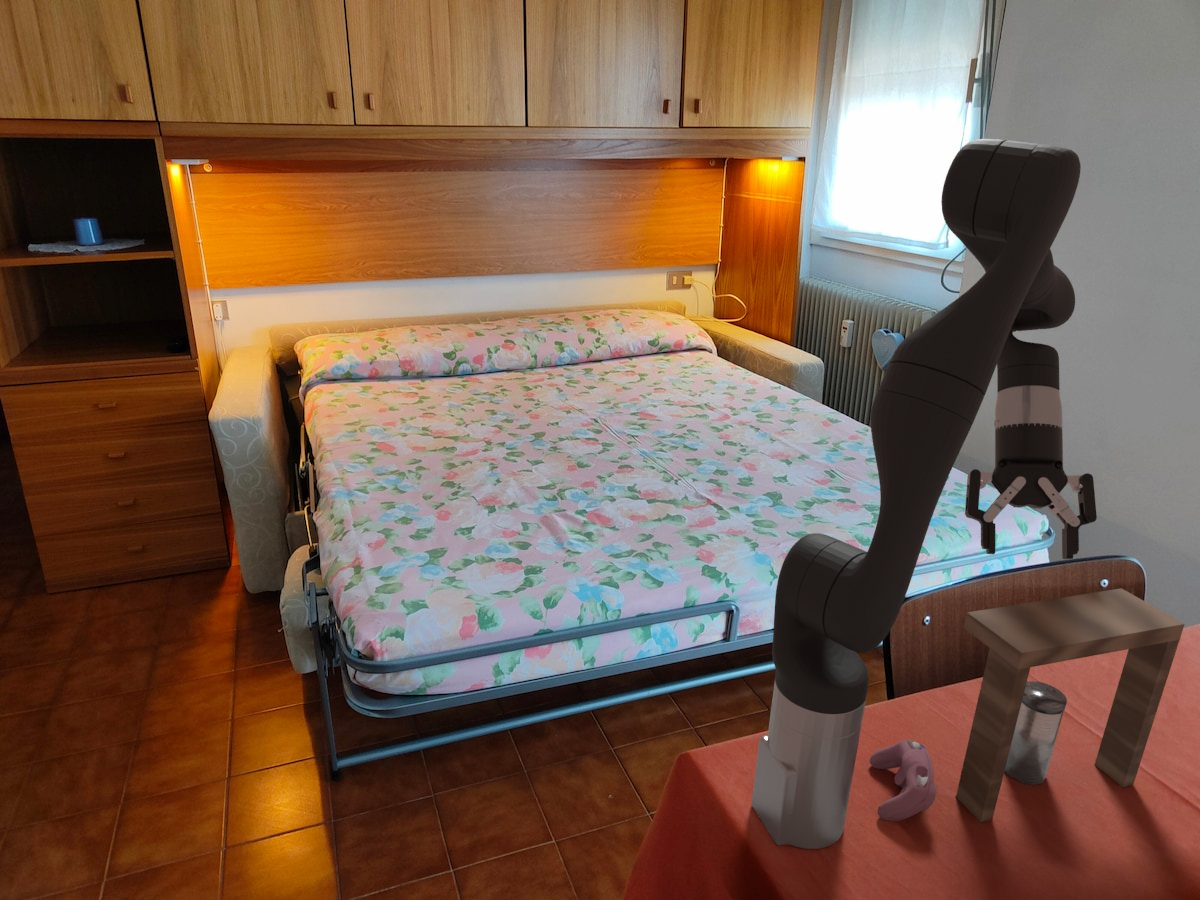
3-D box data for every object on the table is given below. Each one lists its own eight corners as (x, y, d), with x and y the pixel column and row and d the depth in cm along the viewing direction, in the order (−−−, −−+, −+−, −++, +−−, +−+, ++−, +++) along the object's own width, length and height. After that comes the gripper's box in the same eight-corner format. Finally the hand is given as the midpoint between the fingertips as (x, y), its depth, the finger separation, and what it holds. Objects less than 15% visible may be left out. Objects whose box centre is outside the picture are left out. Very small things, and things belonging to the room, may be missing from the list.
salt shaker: (1022, 788, 96) (1042, 710, 92) (991, 760, 100) (1010, 684, 97) (1055, 780, 97) (1076, 703, 94) (1024, 753, 102) (1043, 678, 98)
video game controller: (910, 839, 90) (950, 799, 88) (874, 818, 90) (913, 777, 88) (897, 776, 99) (933, 738, 97) (865, 757, 99) (900, 719, 97)
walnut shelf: (980, 822, 91) (1021, 652, 83) (933, 772, 98) (967, 612, 90) (1133, 784, 97) (1184, 623, 90) (1078, 740, 104) (1121, 588, 97)
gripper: (971, 419, 102) (970, 550, 99) (1101, 422, 98) (1104, 558, 95) (962, 432, 109) (961, 554, 106) (1083, 434, 105) (1085, 562, 102)
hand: (1029, 556), depth 101 cm, fingers open, 8 cm apart
